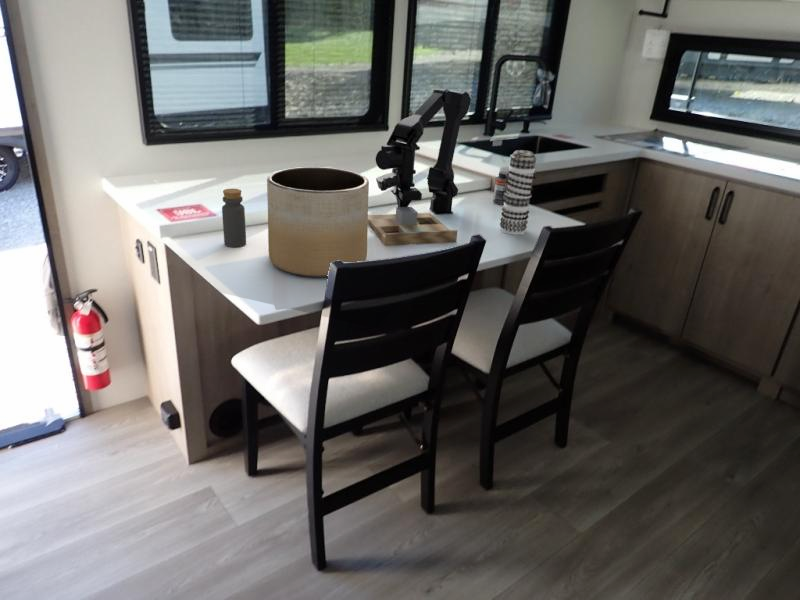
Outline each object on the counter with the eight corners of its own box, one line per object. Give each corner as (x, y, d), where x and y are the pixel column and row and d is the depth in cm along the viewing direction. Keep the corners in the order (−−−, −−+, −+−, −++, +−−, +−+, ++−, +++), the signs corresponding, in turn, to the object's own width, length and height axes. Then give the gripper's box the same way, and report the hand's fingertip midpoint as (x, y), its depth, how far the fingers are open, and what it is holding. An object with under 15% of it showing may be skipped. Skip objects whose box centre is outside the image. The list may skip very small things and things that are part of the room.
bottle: (226, 240, 164) (223, 187, 158) (248, 240, 165) (245, 188, 158) (222, 247, 159) (218, 193, 153) (244, 248, 160) (241, 194, 153)
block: (410, 218, 186) (411, 206, 184) (416, 224, 181) (417, 212, 179) (395, 219, 184) (396, 207, 183) (401, 225, 179) (402, 212, 178)
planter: (299, 238, 169) (298, 162, 160) (380, 254, 162) (384, 175, 152) (249, 268, 147) (245, 181, 138) (341, 288, 140) (343, 198, 131)
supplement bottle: (500, 199, 221) (504, 169, 216) (512, 203, 217) (516, 173, 212) (489, 201, 217) (493, 171, 212) (501, 206, 213) (505, 175, 208)
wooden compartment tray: (429, 218, 194) (430, 208, 192) (456, 242, 175) (457, 230, 173) (365, 221, 187) (365, 210, 186) (385, 246, 168) (386, 234, 166)
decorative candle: (531, 235, 185) (544, 155, 174) (503, 235, 183) (514, 154, 173) (521, 225, 193) (533, 149, 182) (494, 225, 192) (505, 148, 181)
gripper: (371, 158, 185) (369, 206, 192) (388, 173, 169) (385, 224, 176) (404, 158, 189) (401, 205, 195) (424, 172, 173) (420, 223, 179)
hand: (401, 214), depth 186 cm, fingers closed
